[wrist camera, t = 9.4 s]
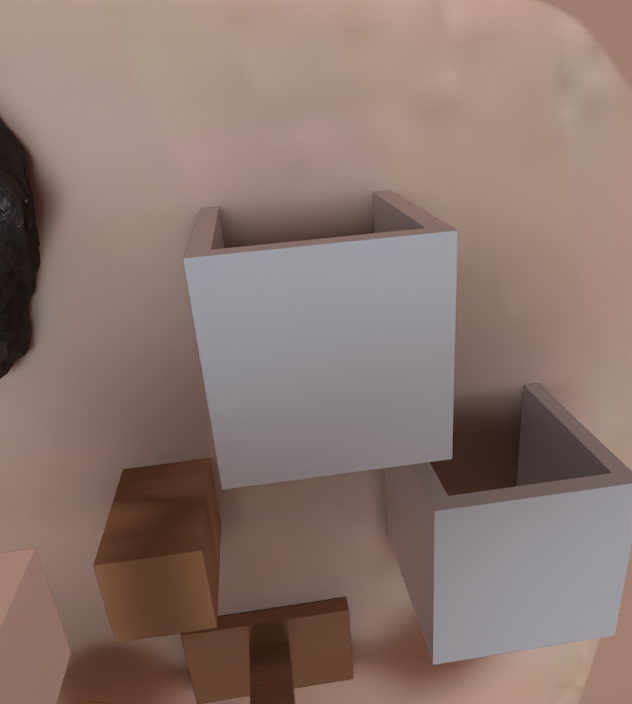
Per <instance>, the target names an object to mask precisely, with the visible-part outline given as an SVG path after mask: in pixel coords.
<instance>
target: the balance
mask: <svg viewBox="0 0 632 704" xmlns="http://www.w3.org/2000/svg"><path fill="white" fill-rule="evenodd" d="M181 638H182V642H183V646H184V651H185V655H186V659H187V664H188V668H189V672H190V676H191V681H192V685H193V689H194V694H195V698H196V702H197V704H202V703H208V702H214V701H220V700H226V699H232V698H239V697H245V696H250V704H296V703H295V693H294V688H300V687H306V686H312V685H318V684H324V683H330V682H337V681H343V680H349V679H353V665H352V651H351V636H350V622H349V609H348V605H347V600H346V597H345V598H338V599H332V600H325V601H319V602H312V603H305V604H299V605H292V606H286V607H279V608H272V609H266V610H259V611H253V612H246V613H239V614H233V615H226V616H220V617H217V628H211V629H204V630H197V631H191V632H184V633H181ZM76 704H109V703H101V702H84V703H76Z"/></svg>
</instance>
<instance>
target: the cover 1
mask: <svg viewBox="0 0 632 704" xmlns="http://www.w3.org/2000/svg"><path fill="white" fill-rule="evenodd" d="M373 203H374V233H371V234H361V235H351V236H341V237H331V238H322V239H312V240H302V241H292V242H282V243H272V244H262V245H252V246H242V247H232V248H224V241H223V234H222V227H221V220H220V213H219V207H209V208H201V209H200V211H199V214H198V217H197V220H196V223H195V226H194V229H193V231H192V234H191V237H190V240H189V243H188V246H187V249H186V252H185V254H184V257H183V261H184V267H185V273H186V279H187V285H188V291H189V297H190V303H191V308H192V314H193V320H194V326H195V332H196V338H197V344H198V350H199V356H200V362H201V368H202V374H203V380H204V385H205V391H206V397H207V403H208V409H209V415H210V421H211V427H212V433H213V439H214V445H215V451H216V457H217V463H218V468H219V474H220V480H221V486H222V490H225V489H233V488H240V487H247V486H255V485H262V484H270V483H277V482H285V481H292V480H300V479H307V478H315V477H322V476H329V475H337V474H344V473H352V472H359V471H367V470H374V469H382V468H389V467H397V466H404V465H411V464H419V463H426V462H434V461H441V460H449V459H452V447H453V407H454V366H455V325H456V285H457V244H458V230H456V229H454V228H453V227H451V226H449V225H448V224H446V223H444V222H443V221H441V220H439V219H438V218H436V217H434V216H433V215H431V214H429V213H428V212H426V211H424V210H422V209H421V208H419V207H417V206H416V205H414V204H412V203H411V202H409V201H407V200H406V199H404V198H402V197H401V196H399V195H397V194H396V193H394V192H392V191H391V190H389V191H378V192H373Z"/></svg>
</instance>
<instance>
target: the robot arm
mask: <svg viewBox="0 0 632 704" xmlns="http://www.w3.org/2000/svg"><path fill="white" fill-rule="evenodd" d="M70 655H71V651H70V648H69V645H68V642H67V640H66V637H65V634H64V631H63V628H62V625H61V622H60V619H59V616H58V613H57V610H56V607H55V604H54V601H53V599H52V596H51V593H50V590H49V587H48V584H47V581H46V578H45V575H44V572H43V569H42V566H41V563H40V560H39V558H38V555H37V552H36V549H35V548H34V549H27V550H20V551H14V552H7V553H0V704H56V703H57V699H58V696H59V693H60V689H61V686H62V682H63V679H64V675H65V672H66V669H67V665H68V662H69V658H70Z"/></svg>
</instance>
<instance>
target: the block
mask: <svg viewBox="0 0 632 704" xmlns="http://www.w3.org/2000/svg"><path fill="white" fill-rule="evenodd" d="M220 540H221V522H220V516H219V511H218V505H217V499H216V493H215V488H214V482H213V476H212V470H211V465H210V459H209V458H208V459H200V460H192V461H184V462H177V463H169V464H161V465H153V466H146V467H138V468H130V469H123V472H122V475H121V478H120V482H119V485H118V488H117V491H116V494H115V498H114V501H113V504H112V507H111V510H110V514H109V517H108V520H107V523H106V526H105V530H104V533H103V536H102V539H101V542H100V546H99V549H98V552H97V555H96V559H95V562H94V565H93V567H94V570H95V574H96V577H97V581H98V584H99V587H100V591H101V594H102V597H103V601H104V604H105V608H106V611H107V614H108V618H109V621H110V625H111V628H112V631H113V635H114V638H115V642H116V643H119V642H126V641H132V640H139V639H145V638H152V637H158V636H165V635H171V634H178V633H184V632H191V631H197V630H204V629H211V628H217V614H218V589H219V565H220Z"/></svg>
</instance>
